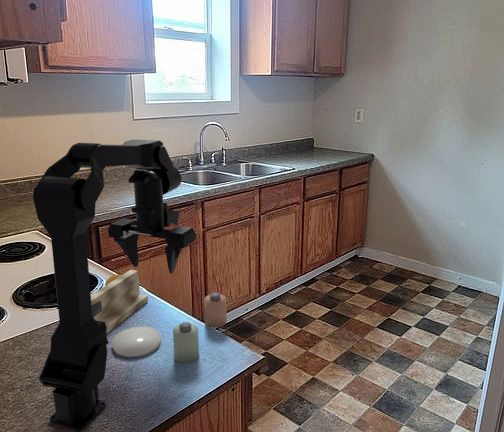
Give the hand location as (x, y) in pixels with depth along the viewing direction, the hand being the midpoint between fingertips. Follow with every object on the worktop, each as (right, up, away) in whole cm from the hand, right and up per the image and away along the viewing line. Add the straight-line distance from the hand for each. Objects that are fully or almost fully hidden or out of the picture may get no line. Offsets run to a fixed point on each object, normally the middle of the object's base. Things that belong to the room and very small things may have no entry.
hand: (153, 269), depth 95 cm
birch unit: (-11, -13, +7) cm, 18 cm away
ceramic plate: (-3, -16, -2) cm, 16 cm away
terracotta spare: (+13, -13, +6) cm, 20 cm away
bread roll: (-13, -8, +23) cm, 28 cm away
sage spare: (+8, -17, -6) cm, 20 cm away
